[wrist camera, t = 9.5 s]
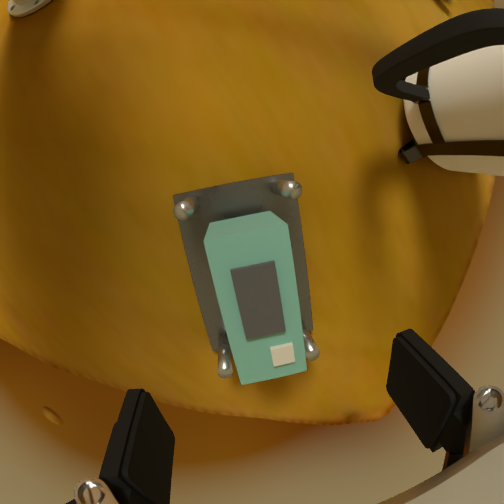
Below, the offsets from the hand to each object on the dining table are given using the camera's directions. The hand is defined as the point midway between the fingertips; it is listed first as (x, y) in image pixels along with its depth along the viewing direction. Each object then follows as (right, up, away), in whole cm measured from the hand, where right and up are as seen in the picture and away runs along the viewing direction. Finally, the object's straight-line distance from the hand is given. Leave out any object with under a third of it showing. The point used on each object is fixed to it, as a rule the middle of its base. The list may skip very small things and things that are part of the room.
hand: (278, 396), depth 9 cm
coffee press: (+17, +19, +14) cm, 29 cm away
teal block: (-1, +3, +13) cm, 13 cm away
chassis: (-1, +4, +16) cm, 16 cm away
